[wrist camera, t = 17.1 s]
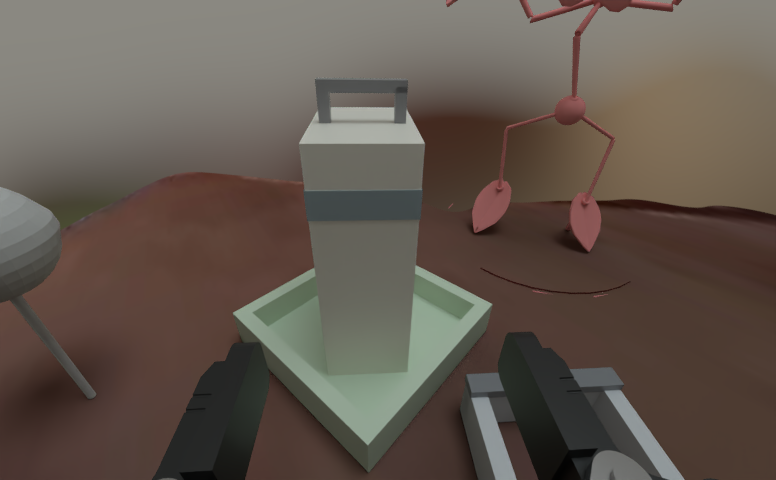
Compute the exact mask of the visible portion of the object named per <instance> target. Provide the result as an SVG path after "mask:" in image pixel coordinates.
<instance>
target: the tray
mask: <svg viewBox="0 0 776 480" xmlns="http://www.w3.org/2000/svg"><path fill="white" fill-rule="evenodd" d="M491 308H492V304H491V303H489V302H487V301H485V300H483V299H481V298H479V297H477V296H475V295H473V294H471V293H469V292H467V291H465V290H463V289H461V288H459V287H458V286H456V285H454V284H452V283H450V282H448V281H446V280H444V279H442V278H440V277H438V276H436V275H434V274H432V273H430V272H428V271H426V270H424V269H422V268H420V267H418V266H416V267H415V280H414V293H413V306H412V319H411V332H410V345H409V358H408V371H407V372H400V373H377V374H353V375H329V376H328V370H327V362H326V354H325V347H324V339H323V331H322V323H321V315H320V307H319V299H318V291H317V283H316V275H315V268H313V269H311V270H309V271H308V272H306V273H304V274H302V275H300V276H299V277H297V278H295V279H293V280H291V281H290V282H288V283H286V284H284V285H282V286H281V287H279V288H277V289H275V290H273V291H272V292H270V293H268V294H266V295H264V296H263V297H261V298H259V299H257V300H255V301H254V302H252V303H250V304H248V305H246V306H245V307H243V308H241V309H239V310H238V311H236V312H234V313H233V315H234V319H235V322H236V325H237V328H238V331H239V334H240V337H241V340H242V342H243V343H246V342H260V343H261V346H262V349H263V353H264V356H265V360H266V363H267V366H268V369H269V370H270V371H271V372H272V373H273V374H274V375H275V376H276V377H277V378H278V379H279V380H280V381H281V382H282V383H283V384H284V385H285V386H286V387H287V388H288V389H289V390H290V392H291V393H292V394H293V395H294V396H295V397H296V398H297V399H298V400H299V401H300V402H301V403H302V404H303V405H304V406H305V407H306V408H307V409H308V410H309V411H310V412H311V413H312V414H313V415H314V417H315V418H316V419H317V420H318V421H319V422H320V423H321V424H322V425H323V426H324V427H325V428H326V429H327V430H328V431H329V432H330V433H331V434H332V435H333V436H334V437H335V438H336V439H337V440H338V441H339V443H340V444H341V445H342V446H343V447H344V448H345V449H346V450H347V451H348V452H349V453H350V454H351V455H352V456H353V457H354V458H355V459H356V460H357V461H358V462H359V463H360V464H361V465H362V466H363V467H364V469H365V470H366V471H367V472H368V473H369V472H370V471H371V469H372V468H373V467H374V466H375V465H376V463H377V462H378V461H379V460H380V459H381V457H382V456H383V455H384V454H385V452H386V451H387V450H388V449H389V448H390V446H391V445H392V444H393V443H394V442H395V440H396V439H397V438H398V437H399V436H400V434H401V433H402V432H403V431H404V429H405V428H406V427H407V426H408V425H409V423H410V422H411V421H412V420H413V419H414V417H415V416H416V415H417V414H418V413H419V411H420V410H421V409H422V408H423V406H424V405H425V404H426V403H427V402H428V400H429V399H430V398H431V397H432V396H433V394H434V393H435V392H436V391H437V390H438V388H439V387H440V386H441V385H442V383H443V382H444V381H445V380H446V379H447V377H448V376H449V375H450V374H451V373H452V371H453V370H454V369H455V368H456V367H457V365H458V364H459V363H460V362H461V360H462V359H463V358H464V357H465V356H466V354H467V353H468V352H469V351H470V350H471V348H472V347H473V346H474V345H475V343H476V342H477V341H478V340H479V339H480V337H481V336H482V335H483V334H484V333H485V331H486V328H487V324H488V320H489V316H490V312H491Z"/></svg>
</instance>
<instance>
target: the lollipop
mask: <svg viewBox="0 0 776 480" xmlns="http://www.w3.org/2000/svg"><path fill="white" fill-rule="evenodd" d="M61 249H62V241H61V233H60V223H59V221H58V220H57V219H56V217H55V216H54V215H53V213H52V212H51V211H50V210H48V209H47V208H45V207H43V206H41V205H39V204H37V203H35V202H34V201H32V200H30V199H29V198H27V197H25V196H23V195H21V194H19V193H16V192H13V191H10V190H8V189H5V188H1V187H0V303H1V302H5V301H8V300H10V301H11V302H12V303H13V305H14V306H15V307H16V308H17V310H18V311H19V312H20V313H21V315H22V316H23V317H24V318H25V320H26V321H27V322H28V323H29V325H30V326H31V327H32V329H33V330H34V331H35V332H36V334H37V335H38V336H39V337H40V339H41V340H42V341H43V342H44V344H45V345H46V346H47V347H48V349H49V350H50V351H51V353H52V354H53V355H54V356H55V358H56V359H57V360H58V361H59V363H60V364H61V365H62V366H63V368H64V369H65V370H66V371H67V373H68V374H69V375H70V377H71V378H72V379H73V380H74V382H75V383H76V384H77V385H78V387H79V388H80V389H81V390H82V392H83V393H84V394H85V395H86V397H87V398H88V399H92V398H94V397H95V396H96V393H95V391H94V390H93V389H92V387H91V386H90V385H89V383H88V382H87V381H86V379H85V378H84V377H83V375H82V374H81V373H80V371H79V370H78V369H77V368H76V366H75V365H74V364H73V362H72V361H71V360H70V358H69V357H68V356H67V354H66V353H65V352H64V350H63V349H62V348H61V346H60V345H59V344H58V342H57V341H56V340H55V339H54V337H53V336H52V335H51V333H50V332H49V331H48V329H47V328H46V327H45V325H44V324H43V323H42V321H41V320H40V319H39V317H38V316H37V315H36V313H35V312H34V311H33V310H32V308H31V307H30V306H29V304H28V303H27V302H26V300H25V299H24V298H23V296H22V295H23V294H25V293H26V292H28V291H30V290H32V289H33V288H35V287H37V286H38V285H39V284H41V283H42V282H43V281H44V280H45V279H46V278H47V277H48V276H49V275H50V274H51V272H52V271H53V270H54V268H55V266H56V264H57V262H58V260H59V258H60V255H61Z"/></svg>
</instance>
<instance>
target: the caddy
mask: <svg viewBox="0 0 776 480" xmlns="http://www.w3.org/2000/svg"><path fill="white" fill-rule="evenodd" d="M315 84H316V94H317V106H318V111H317V113H316V115H315V116H314V118H313V120H312V122H311V123H310V125H309V127H308V129H307V130H306V132H305V134H304V136H303V137H302V139H301V141H300V143H299V149H300V157H301V164H302V173H303V181H304V199H305V206H306V214H307V221H309V228H310V236H311V244H312V252H313V260H314V268H315V275H316V283H317V291H318V299H319V307H320V315H321V323H322V331H323V339H324V347H325V354H326V362H327V370H328V376H329V375H353V374H377V373H400V372H407V371H408V358H409V345H410V332H411V319H412V306H413V293H414V280H415V267H416V254H417V241H418V228H419V220H420V217H421V204H422V191H423V190H422V176H423V162H424V148H425V143H424V141H423V139H422V137H421V135H420V133H419V132H418V130H417V128H416V126H415V124H414V122H413V120H412V118H411V117H410V115H409V113H408V111H407V88H408V80H407V79H371V78H365V79H364V78H316V79H315ZM330 93H395V100H394V108H372V107H370V108H369V107H368V108H367V107H360V108H359V107H331V106H330Z"/></svg>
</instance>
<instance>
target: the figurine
mask: <svg viewBox="0 0 776 480" xmlns="http://www.w3.org/2000/svg"><path fill="white" fill-rule="evenodd" d="M456 1H457V0H446V5H447V7H449V6H450V5H451V4H453V3H454V2H456ZM559 1H560V3H561V5H562V6H565V7H562V8H559V9H555V10H552V11H549V12H545V13H542V14H539V15H535V16H533V13H532V11H531V9H530V7H529V4H528V2H527V0H520V2H521V5H522V7H523V9H524V11H525V13H526V15H527V17H528V18H530V17H532V19H531V21H530V23H533V22H536V21H540V20H543V19H546V18H549V17H553V16H556V15H560V14H563V13H566V12H570V11H573V10H576V9H579V8H583V7H586V6H589V5H592V4H594V7H593V8H592V10H591V11H590V13H589V14H588V15H587V16H586V18H585V19H584V20H583V22H582V23H581V24H580V26H579V27H578V29H577V30H576V31H575V36H574V37H573V70H572V71H573V73H572V96H567V97H565V98H563V99H561V100H560V101H559V102H558V104H557V105H556V108H555V112H554V113H552V114H548V115H545V116H542V117H538V118H535V119H531V120H528V121H524V122H521V123H518V124H514V125H511V126H507V127H506V128H507V129H505V132H504V142H503V149H502V158H501V166H500V175H499V180H496V181H493V182H492V183H490V184H489V185H488V186H487V187H485V188H484V189H483V190H482V191H481V193H480V194H479V196H478V197H477V199H476V201H475V204H474V208H473V211H472V215H473V228H474V233H477V232H480V231H482V230H483V229H486V228H488V227H490V226H492V225H494V224H495V223H496V222H497V221H498V220H499V219H500V218H501V217H502V216H503V215H504V214H505V212H506V210H507V208H508V206H509V204H510V197H511V188H510V186H509V184H508V182H507V181H506V182H504V181H503V179H502V178H503V170H504V161H505V153H506V144H507V136H508V129H512V128H515V127H518V126H522V125H526V124H529V123H533V122H537V121H540V120H544V119H547V118H551V117H554V116H555V119H556V120H557V121H558V122H559V123H561V124H563V125H572V124H574V123H576V122H578V121H579V120H580V119H582V120H583V121H585V122H586V123H588V124H589V125H591V126H592V127H594V128H595V129H597V130H598V131H599V132H601V133H602V134H604V135H605V136H607V137H608V138H610V139H611V142H610V144H609V146H608V148H607V151H606V153H605V155H604V158H603V160H602V162H601V164H600V166H599V169H598V171H597V173H596V175H595V178H594V180H593V182H592V184H591V187H590V189H589V191H588V193H586V192H583V194H582V193H579V194H578V195H577V196H576V197H575V198H574V199H573V200H572V203H571V207H570V211H569V223H568V225H567V227H566V230H567V231H569V230H570V229H571V230H572V233H573V235H574V236H575V238H576V239H577V240H578V242H579V243H580V244H581V246H582V247H583V248H584V249H585V250H586V251H587V252H590V250H591V248H592V247H593V245H594V243H595V240H596V238H597V236H598V233H599V231H600V225H601V215H600V209H599V207H598V205H597V203H596V201H595V199H594V197H593V196H591V193H592V190H593V189H594V186H595V184H596V182H597V180H598V177H599V175H600V173H601V171H602V169H603V166H604V164H605V162H606V160H607V157H608V155H609V153H610V151H611V149H612V146H613V144H614V142H615V140H614V139H615V137H614V136H612V135H611V134H610V133H608V132H607V131H605V130H604V129H603V128H601V127H599V126H598V125H597V124H595V123H594V122H593V121H591V120H590V119H588V118H587V117H586V116H584V113H585V109H586V106H585V102H584V101H583V100H582V98H580V97H578V96H576V94H577V80H578V64H579V51H580V36H581V34H582V33H583V31H584V29H585V28H586V27H587V25H588V24H589V22H590V21H591V19H592V18H593V16H594V15H595V13H596V12H597V10H598V9H599V8H601V7H603V6H604V7H606V8H607V9H608V10H609V11H613V12H620V11H621V10H623V9H624V8H626V7H635V8H644V9H653V10H661V11H669V12H672V11H673V4H675V5H678V4H679V3H680V2H681V1H682V0H673V1H672V4H666V3H658V2H649V1H640V0H585V1H583V0H559ZM449 207H450V206H449ZM476 228H477V229H476ZM475 230H476V231H475ZM481 269H482V268H481ZM482 270H484V271H486V272H488V273H490V274H492V275H494V276H496V277H499V278H502V277H500V276H497V275H495V274H493V273H491V272H489V271H487V270H485V269H482ZM502 279H504V280H507V279H505V278H502ZM507 281H509V282H512V283H515V284H519V283H516V282H513V281H510V280H507ZM629 282H630V281H629ZM629 282H628V283H629ZM626 284H627V283H626ZM519 285H522V286H526V287H529V288H533V289H538V290H544V291H549V292H557V293H567V294H591V293H598V292H606V291H609V290H613V289H616V288H620V287H621V286H620V287H616V288H613V289H609V290H605V291H598V292H590V293H569V292H559V291H550V290H545V289H539V288H534V287H530V286H527V285H523V284H519ZM624 285H625V284H624ZM622 286H623V285H622ZM532 292H538V291H532ZM539 293H543V292H539ZM546 294H548V293H546ZM606 295H607V294H606ZM598 296H602V295H598ZM593 297H597V296H593Z"/></svg>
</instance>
